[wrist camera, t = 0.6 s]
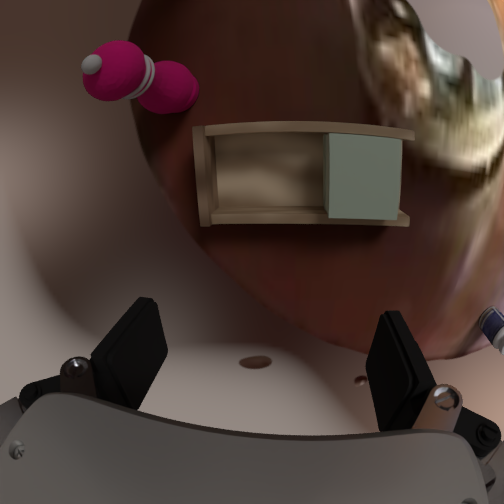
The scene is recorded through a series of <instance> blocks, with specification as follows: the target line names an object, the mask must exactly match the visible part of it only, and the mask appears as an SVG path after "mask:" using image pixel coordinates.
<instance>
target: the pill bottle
mask: <svg viewBox="0 0 504 504" xmlns="http://www.w3.org/2000/svg"><path fill="white" fill-rule="evenodd" d="M479 327H480V329H481V330H482V332H483V333H484V334H485V336H486V337H487V338H488V340H489V341H490V343H491V344H492V345H493V347H494V348H496V349H499V351H500V352H501V354H502V355H504V315H503V314H502V313H501V312H500V311H499V310H498V309H497V308H496V307H494V306H493V307H490V308H488V309H487V310H486V311H485V312H484V313H483V314H482V316H481V318H480V320H479Z"/></svg>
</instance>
